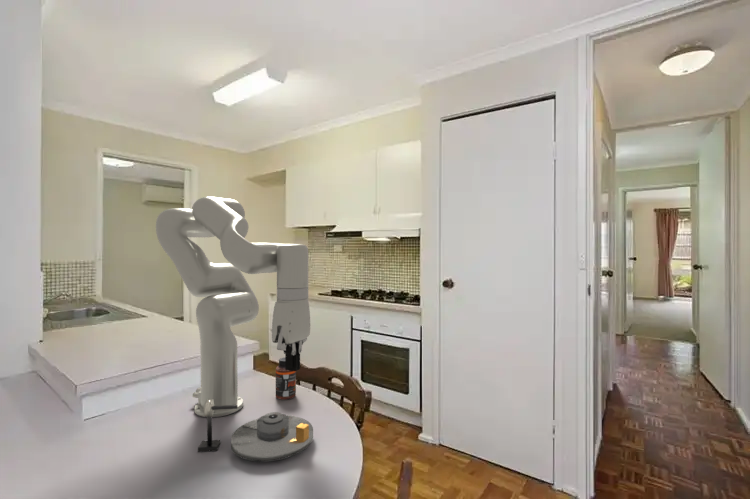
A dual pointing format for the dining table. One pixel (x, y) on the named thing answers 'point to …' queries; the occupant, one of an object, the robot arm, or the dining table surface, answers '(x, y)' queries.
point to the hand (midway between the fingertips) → (292, 369)
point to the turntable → (260, 450)
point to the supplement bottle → (285, 382)
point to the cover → (272, 426)
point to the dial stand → (208, 412)
